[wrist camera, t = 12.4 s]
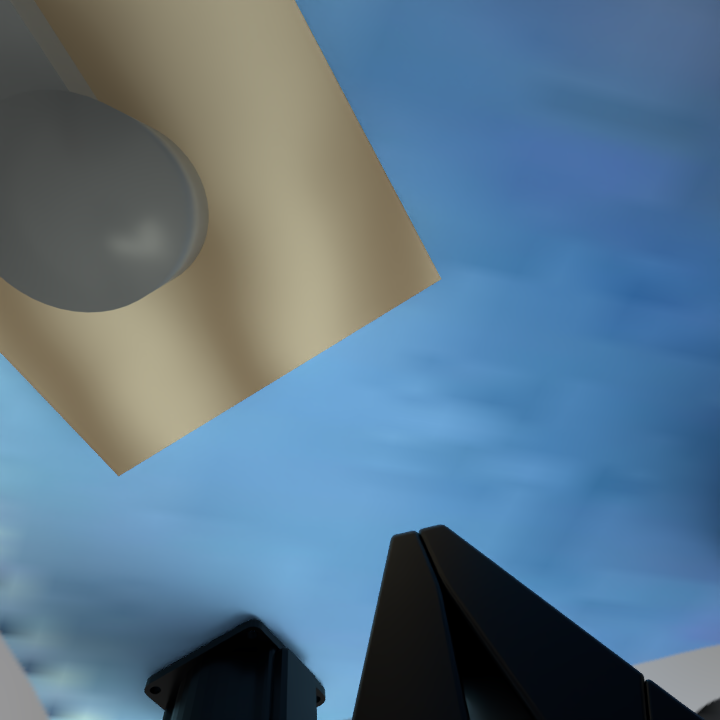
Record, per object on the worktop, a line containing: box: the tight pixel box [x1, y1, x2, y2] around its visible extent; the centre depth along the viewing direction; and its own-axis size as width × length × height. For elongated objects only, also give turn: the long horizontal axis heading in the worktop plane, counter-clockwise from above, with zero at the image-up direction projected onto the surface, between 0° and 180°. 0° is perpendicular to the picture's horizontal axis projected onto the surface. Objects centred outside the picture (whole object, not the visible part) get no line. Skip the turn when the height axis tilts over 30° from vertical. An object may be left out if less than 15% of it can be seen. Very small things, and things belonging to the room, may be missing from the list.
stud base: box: [0, 0, 441, 476], centre depth 14 cm, size 14×14×4 cm
